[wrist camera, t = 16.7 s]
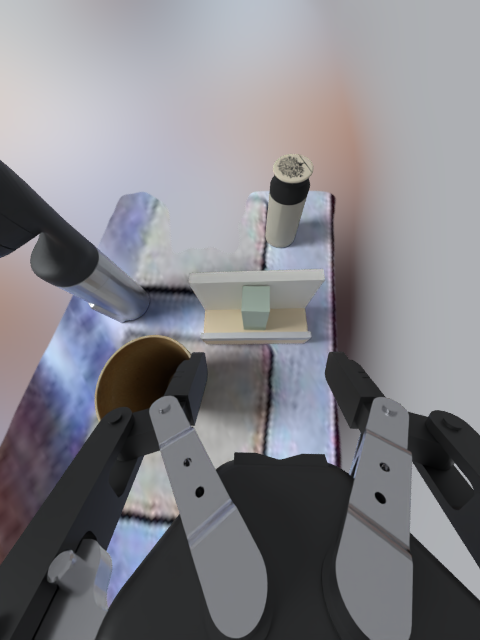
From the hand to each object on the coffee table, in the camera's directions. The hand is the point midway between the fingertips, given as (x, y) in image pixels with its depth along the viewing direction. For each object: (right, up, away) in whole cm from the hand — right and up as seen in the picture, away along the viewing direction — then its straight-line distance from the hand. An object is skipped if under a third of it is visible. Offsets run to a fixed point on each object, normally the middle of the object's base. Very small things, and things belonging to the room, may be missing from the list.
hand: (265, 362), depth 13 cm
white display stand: (+2, +2, +33) cm, 33 cm away
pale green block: (+2, +3, +29) cm, 29 cm away
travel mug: (+9, +26, +41) cm, 49 cm away
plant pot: (-14, -12, +30) cm, 35 cm away
